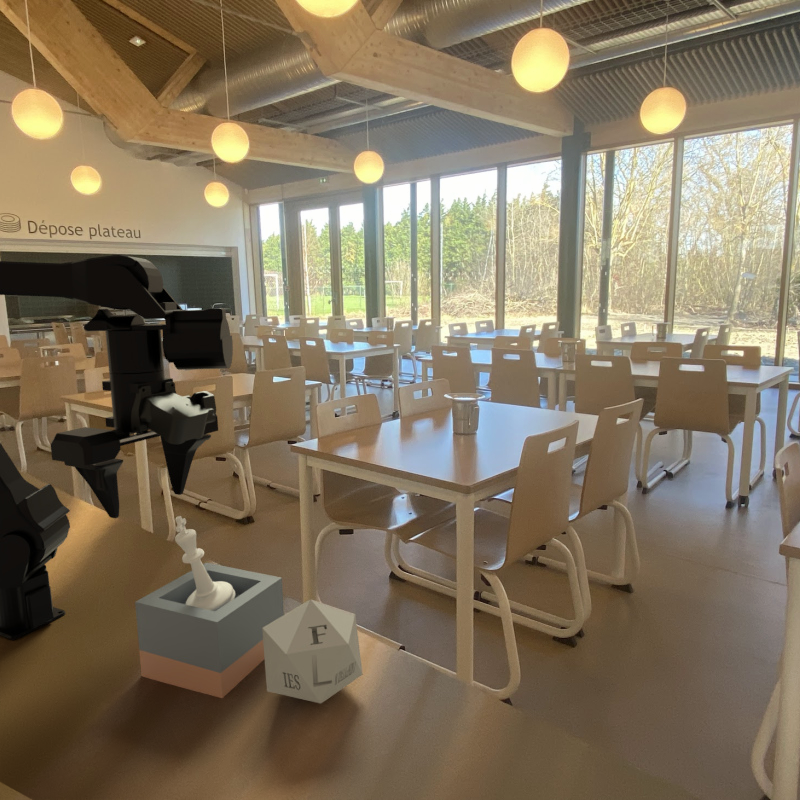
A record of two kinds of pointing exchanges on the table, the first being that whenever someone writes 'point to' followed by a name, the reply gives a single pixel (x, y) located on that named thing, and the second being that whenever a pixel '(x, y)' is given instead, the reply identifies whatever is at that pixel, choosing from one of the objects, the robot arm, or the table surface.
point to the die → (311, 652)
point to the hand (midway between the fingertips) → (148, 505)
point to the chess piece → (201, 573)
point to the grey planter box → (207, 631)
